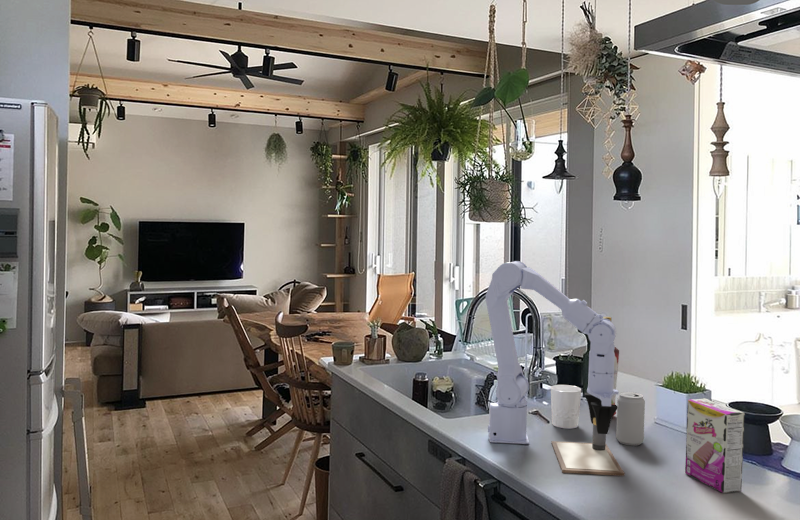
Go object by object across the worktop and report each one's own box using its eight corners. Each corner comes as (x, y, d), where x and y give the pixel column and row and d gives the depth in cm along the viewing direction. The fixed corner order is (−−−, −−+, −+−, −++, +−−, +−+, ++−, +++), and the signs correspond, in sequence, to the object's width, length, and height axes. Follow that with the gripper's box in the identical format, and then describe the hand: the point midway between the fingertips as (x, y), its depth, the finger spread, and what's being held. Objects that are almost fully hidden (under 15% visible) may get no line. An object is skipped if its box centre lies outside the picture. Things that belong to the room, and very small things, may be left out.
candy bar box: (683, 474, 140) (686, 398, 140) (702, 471, 142) (705, 397, 141) (722, 494, 130) (725, 413, 129) (742, 492, 131) (746, 411, 130)
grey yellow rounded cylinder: (593, 450, 152) (594, 420, 152) (591, 445, 155) (592, 417, 155) (606, 450, 152) (607, 421, 152) (604, 446, 155) (605, 417, 155)
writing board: (562, 472, 140) (562, 469, 140) (551, 443, 159) (551, 440, 159) (624, 475, 139) (624, 472, 139) (606, 446, 158) (606, 443, 157)
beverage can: (645, 447, 157) (647, 398, 156) (617, 445, 158) (619, 396, 158) (641, 439, 163) (642, 392, 163) (614, 437, 165) (616, 390, 164)
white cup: (578, 421, 177) (579, 385, 177) (581, 430, 170) (582, 392, 169) (549, 419, 179) (550, 383, 178) (550, 428, 171) (551, 390, 171)
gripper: (626, 379, 145) (623, 439, 146) (612, 365, 160) (610, 420, 160) (593, 377, 146) (591, 437, 147) (582, 364, 160) (580, 418, 161)
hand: (599, 428), depth 154 cm, fingers open, 7 cm apart
